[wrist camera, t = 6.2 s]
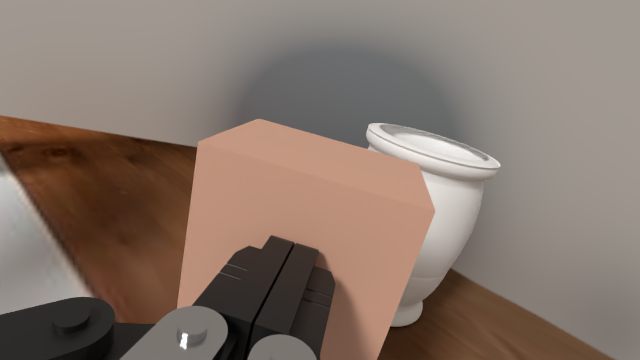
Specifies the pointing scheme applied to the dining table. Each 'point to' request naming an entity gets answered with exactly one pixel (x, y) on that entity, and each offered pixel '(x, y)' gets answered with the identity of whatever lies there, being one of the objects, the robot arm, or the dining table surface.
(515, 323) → the dining table surface
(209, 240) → the salmon pink rectangular block
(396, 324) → the jar
